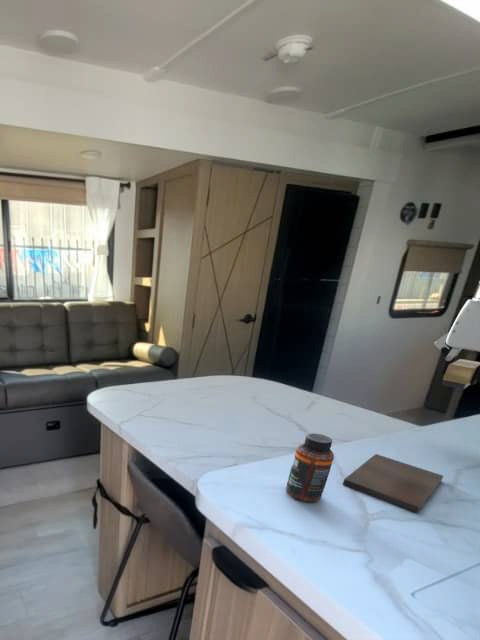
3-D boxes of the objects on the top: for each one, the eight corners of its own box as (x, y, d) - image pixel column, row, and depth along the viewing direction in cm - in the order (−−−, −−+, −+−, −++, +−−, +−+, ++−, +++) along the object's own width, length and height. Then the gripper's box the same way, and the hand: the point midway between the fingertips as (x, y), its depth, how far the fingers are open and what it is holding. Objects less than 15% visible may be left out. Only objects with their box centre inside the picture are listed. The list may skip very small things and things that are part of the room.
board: (373, 458, 88) (375, 453, 88) (441, 481, 80) (443, 475, 80) (342, 484, 77) (344, 478, 77) (416, 513, 69) (419, 507, 69)
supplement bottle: (327, 497, 73) (346, 440, 68) (309, 507, 70) (328, 448, 65) (296, 482, 77) (312, 428, 72) (278, 491, 74) (293, 434, 69)
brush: (451, 378, 96) (460, 358, 94) (474, 383, 93) (483, 362, 91) (440, 384, 90) (449, 364, 88) (463, 389, 87) (473, 368, 85)
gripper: (557, 299, 80) (511, 388, 88) (452, 290, 91) (419, 370, 99) (553, 300, 75) (505, 393, 83) (443, 291, 87) (410, 374, 95)
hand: (459, 380), depth 91 cm, fingers closed on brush, 4 cm apart
